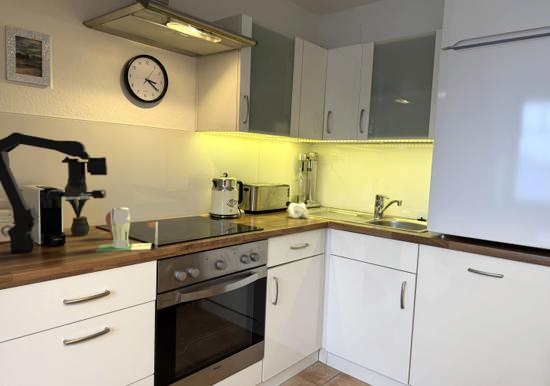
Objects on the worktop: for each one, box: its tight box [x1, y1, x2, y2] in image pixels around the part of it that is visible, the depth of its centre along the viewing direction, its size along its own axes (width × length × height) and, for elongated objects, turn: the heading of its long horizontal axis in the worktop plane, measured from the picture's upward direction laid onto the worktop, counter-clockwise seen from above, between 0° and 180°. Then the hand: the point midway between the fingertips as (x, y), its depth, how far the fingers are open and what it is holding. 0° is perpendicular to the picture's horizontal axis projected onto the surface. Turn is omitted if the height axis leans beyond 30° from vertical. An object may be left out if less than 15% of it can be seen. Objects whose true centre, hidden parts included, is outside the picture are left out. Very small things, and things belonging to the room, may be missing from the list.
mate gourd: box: [70, 215, 90, 237], centre depth 167 cm, size 7×8×10 cm
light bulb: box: [105, 210, 113, 239], centre depth 163 cm, size 7×7×12 cm
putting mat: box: [95, 221, 159, 253], centre depth 147 cm, size 22×10×9 cm, turn 106°
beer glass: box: [110, 206, 131, 249], centre depth 146 cm, size 7×7×15 cm
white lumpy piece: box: [288, 202, 309, 219], centre depth 234 cm, size 11×12×9 cm
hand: (78, 217), depth 142 cm, fingers closed
